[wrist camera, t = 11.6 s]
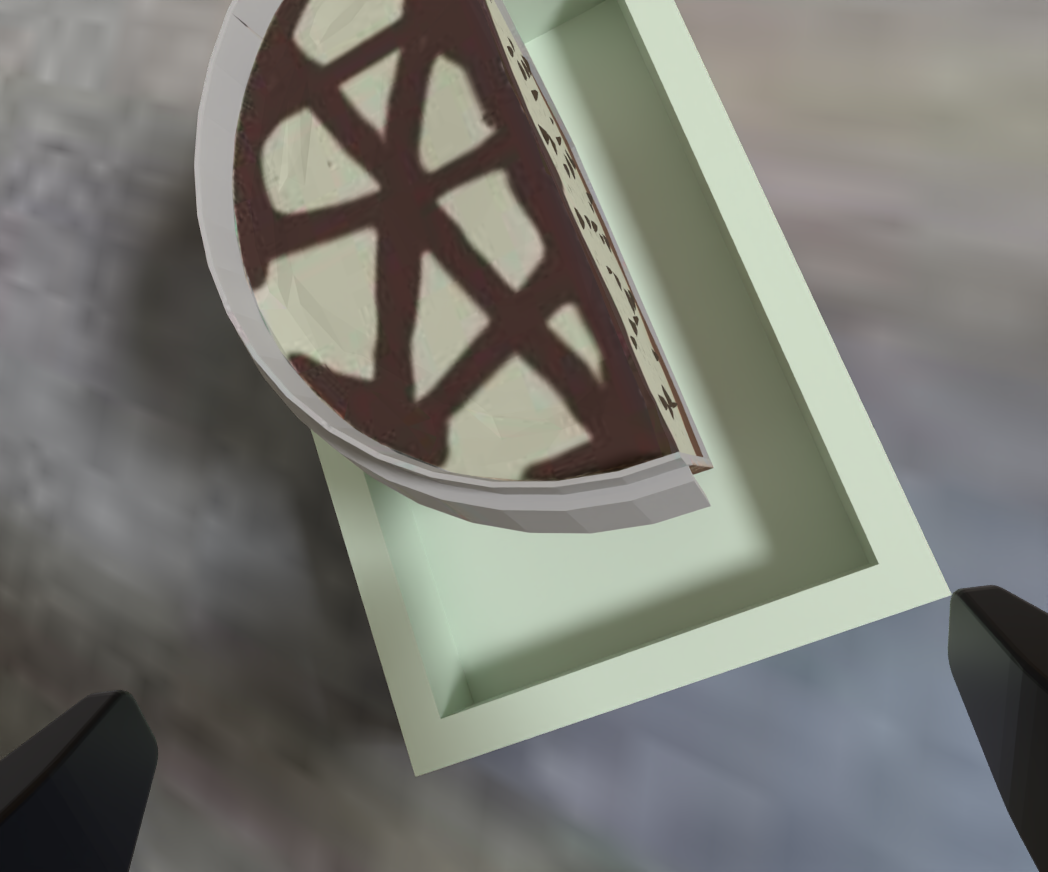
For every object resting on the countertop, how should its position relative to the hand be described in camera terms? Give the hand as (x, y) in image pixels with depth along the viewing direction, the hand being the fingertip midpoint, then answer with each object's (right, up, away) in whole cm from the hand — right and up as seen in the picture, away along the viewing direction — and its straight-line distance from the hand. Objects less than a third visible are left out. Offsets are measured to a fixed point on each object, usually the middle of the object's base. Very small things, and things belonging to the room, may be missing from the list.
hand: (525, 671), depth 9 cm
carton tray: (+1, +5, +14) cm, 15 cm away
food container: (0, +5, +13) cm, 14 cm away
